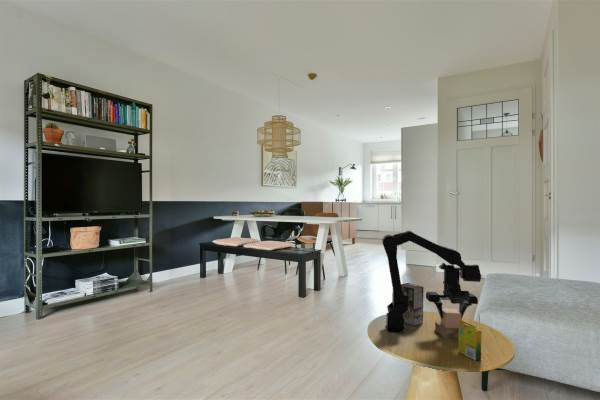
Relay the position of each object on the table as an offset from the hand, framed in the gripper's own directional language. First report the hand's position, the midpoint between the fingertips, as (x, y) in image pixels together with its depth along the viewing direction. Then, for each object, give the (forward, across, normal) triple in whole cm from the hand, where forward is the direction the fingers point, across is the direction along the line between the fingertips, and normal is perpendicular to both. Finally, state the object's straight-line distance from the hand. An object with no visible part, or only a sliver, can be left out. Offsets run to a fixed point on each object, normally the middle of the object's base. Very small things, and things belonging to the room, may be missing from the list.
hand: (450, 318), depth 138 cm
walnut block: (+7, 0, 0) cm, 7 cm away
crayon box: (+6, 0, -19) cm, 20 cm away
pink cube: (+3, 0, 0) cm, 3 cm away
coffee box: (+6, -13, +13) cm, 19 cm away
